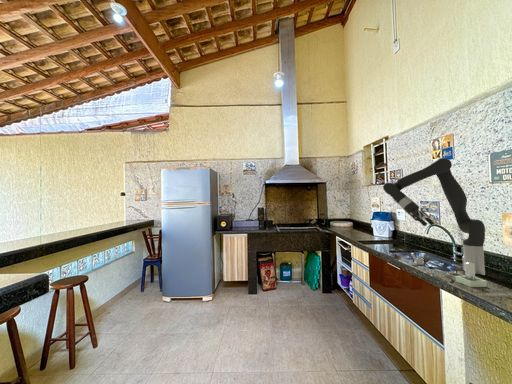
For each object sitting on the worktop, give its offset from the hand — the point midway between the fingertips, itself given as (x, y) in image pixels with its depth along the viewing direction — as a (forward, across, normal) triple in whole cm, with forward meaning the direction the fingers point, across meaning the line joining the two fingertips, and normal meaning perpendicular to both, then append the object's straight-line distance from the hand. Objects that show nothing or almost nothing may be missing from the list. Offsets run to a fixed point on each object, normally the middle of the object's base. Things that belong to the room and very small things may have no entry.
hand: (429, 224), depth 140 cm
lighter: (+9, +21, +35) cm, 42 cm away
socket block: (+29, +3, +14) cm, 33 cm away
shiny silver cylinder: (+34, -1, +8) cm, 35 cm away
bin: (+35, -1, +9) cm, 36 cm away
